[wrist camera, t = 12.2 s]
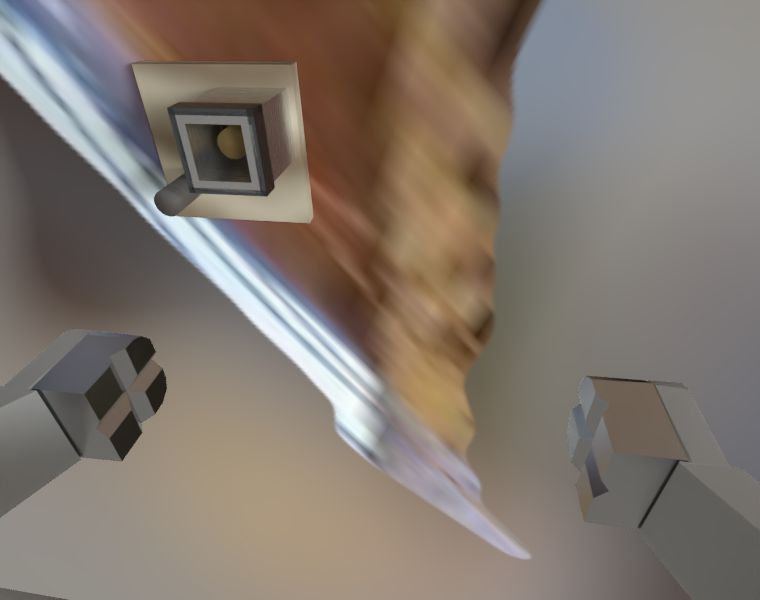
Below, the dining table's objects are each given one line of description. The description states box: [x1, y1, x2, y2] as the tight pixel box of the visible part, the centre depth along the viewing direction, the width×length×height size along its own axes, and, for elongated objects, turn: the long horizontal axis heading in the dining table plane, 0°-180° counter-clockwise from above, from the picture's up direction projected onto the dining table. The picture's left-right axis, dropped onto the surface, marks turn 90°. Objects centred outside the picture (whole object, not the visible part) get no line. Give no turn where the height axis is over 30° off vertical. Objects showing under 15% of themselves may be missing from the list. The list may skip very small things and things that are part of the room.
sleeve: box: [167, 87, 296, 197], centre depth 32 cm, size 5×5×7 cm
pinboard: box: [132, 61, 313, 223], centre depth 35 cm, size 12×12×6 cm
